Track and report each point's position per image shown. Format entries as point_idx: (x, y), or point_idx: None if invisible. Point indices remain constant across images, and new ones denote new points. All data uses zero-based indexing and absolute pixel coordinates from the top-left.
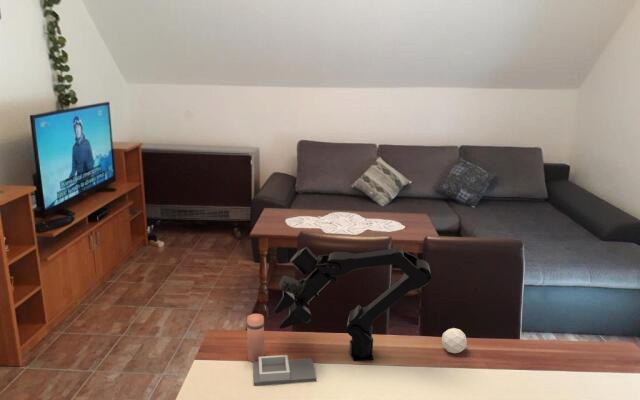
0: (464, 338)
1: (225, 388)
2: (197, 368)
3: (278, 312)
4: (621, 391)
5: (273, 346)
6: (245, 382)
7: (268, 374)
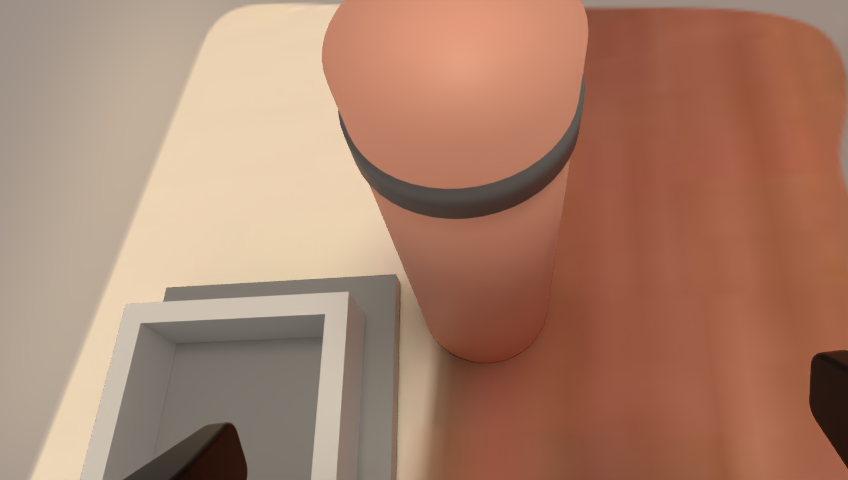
0: None
1: (205, 152)
2: None
3: (839, 448)
4: None
5: (662, 448)
6: (225, 248)
7: (113, 372)
